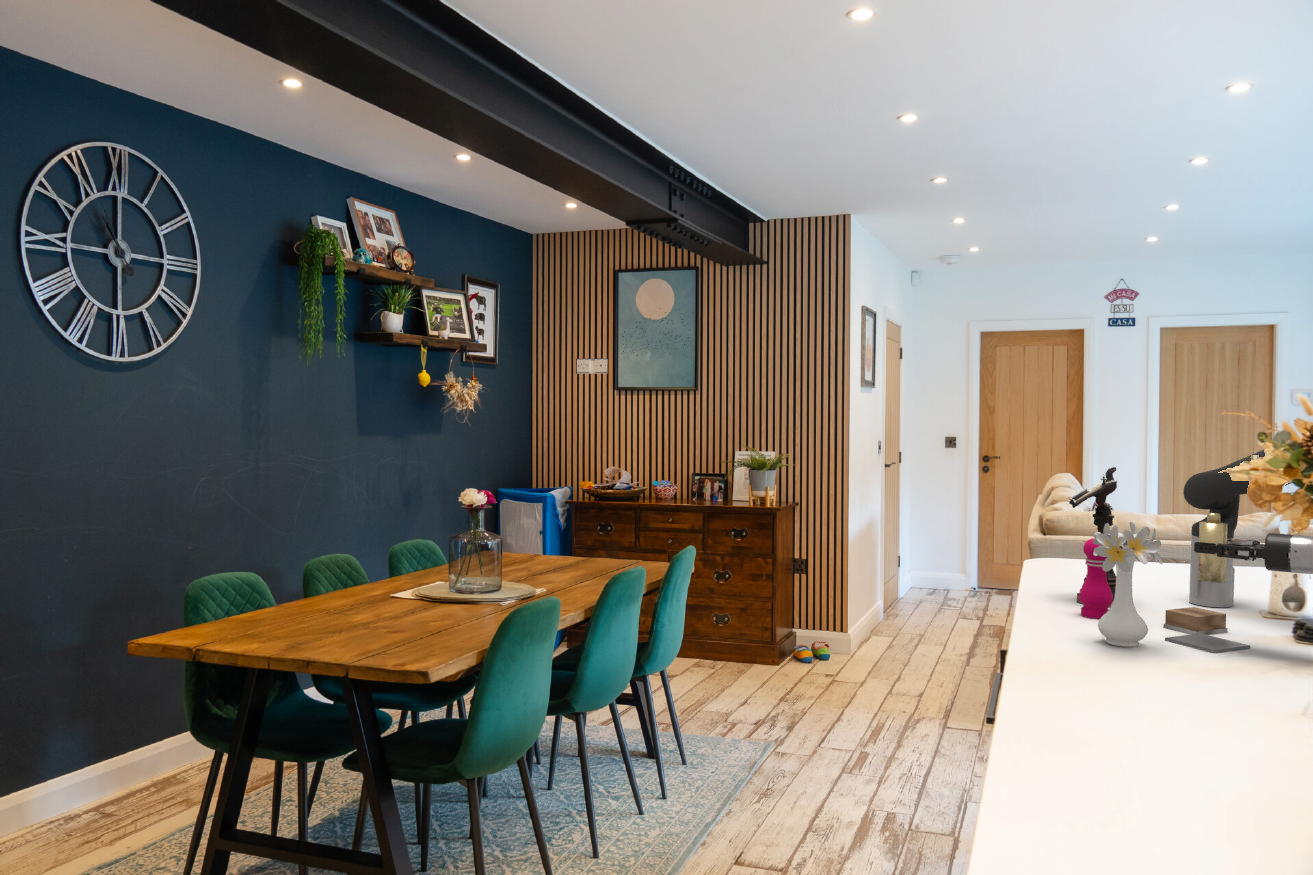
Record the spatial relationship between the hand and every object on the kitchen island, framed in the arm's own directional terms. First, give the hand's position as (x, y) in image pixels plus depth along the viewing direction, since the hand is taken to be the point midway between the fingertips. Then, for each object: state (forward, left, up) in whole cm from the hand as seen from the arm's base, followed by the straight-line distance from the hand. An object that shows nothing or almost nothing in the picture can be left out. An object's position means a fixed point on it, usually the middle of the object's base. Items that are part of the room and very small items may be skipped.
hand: (1197, 545), depth 197 cm
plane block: (-11, -8, -20) cm, 24 cm away
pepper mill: (-1, -26, -21) cm, 33 cm away
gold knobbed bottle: (-1, +2, -7) cm, 7 cm away
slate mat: (-1, +2, -20) cm, 20 cm away
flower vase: (+16, -4, -21) cm, 27 cm away
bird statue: (-13, -38, -21) cm, 45 cm away
